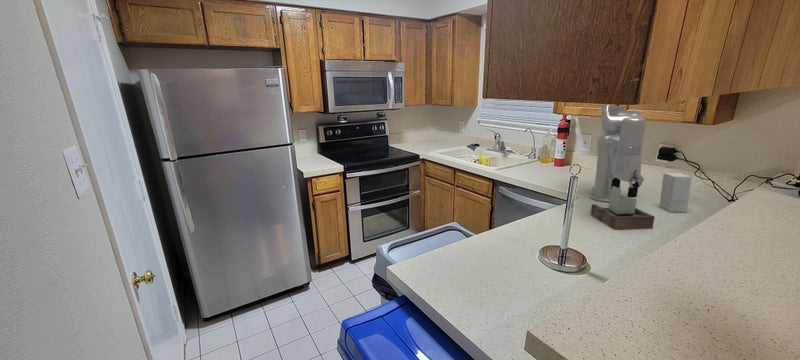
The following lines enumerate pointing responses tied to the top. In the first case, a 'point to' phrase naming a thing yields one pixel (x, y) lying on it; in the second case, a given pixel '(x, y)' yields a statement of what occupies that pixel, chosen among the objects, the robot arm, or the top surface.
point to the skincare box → (675, 192)
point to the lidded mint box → (621, 203)
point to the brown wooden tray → (623, 219)
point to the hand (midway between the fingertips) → (623, 193)
